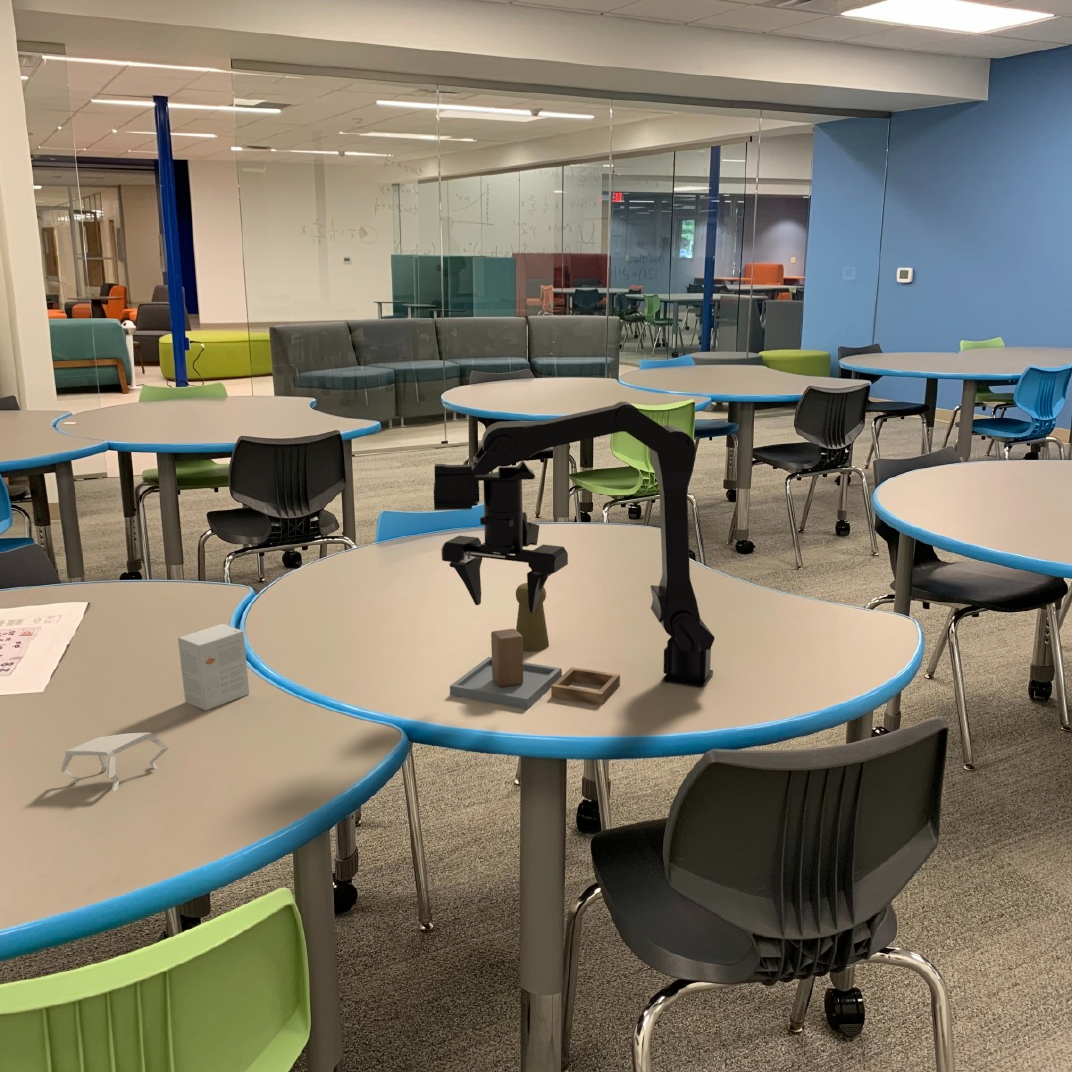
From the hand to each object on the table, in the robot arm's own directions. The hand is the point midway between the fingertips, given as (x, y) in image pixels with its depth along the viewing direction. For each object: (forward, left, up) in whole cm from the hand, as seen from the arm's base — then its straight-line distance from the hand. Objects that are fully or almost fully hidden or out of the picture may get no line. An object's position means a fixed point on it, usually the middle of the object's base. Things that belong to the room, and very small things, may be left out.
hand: (505, 608), depth 154 cm
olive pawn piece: (+4, -18, -13) cm, 23 cm away
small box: (+39, +21, -13) cm, 46 cm away
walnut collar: (-12, -3, -13) cm, 18 cm away
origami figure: (+33, +45, -13) cm, 58 cm away
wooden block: (0, 0, -12) cm, 12 cm away
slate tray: (0, 0, -13) cm, 13 cm away
